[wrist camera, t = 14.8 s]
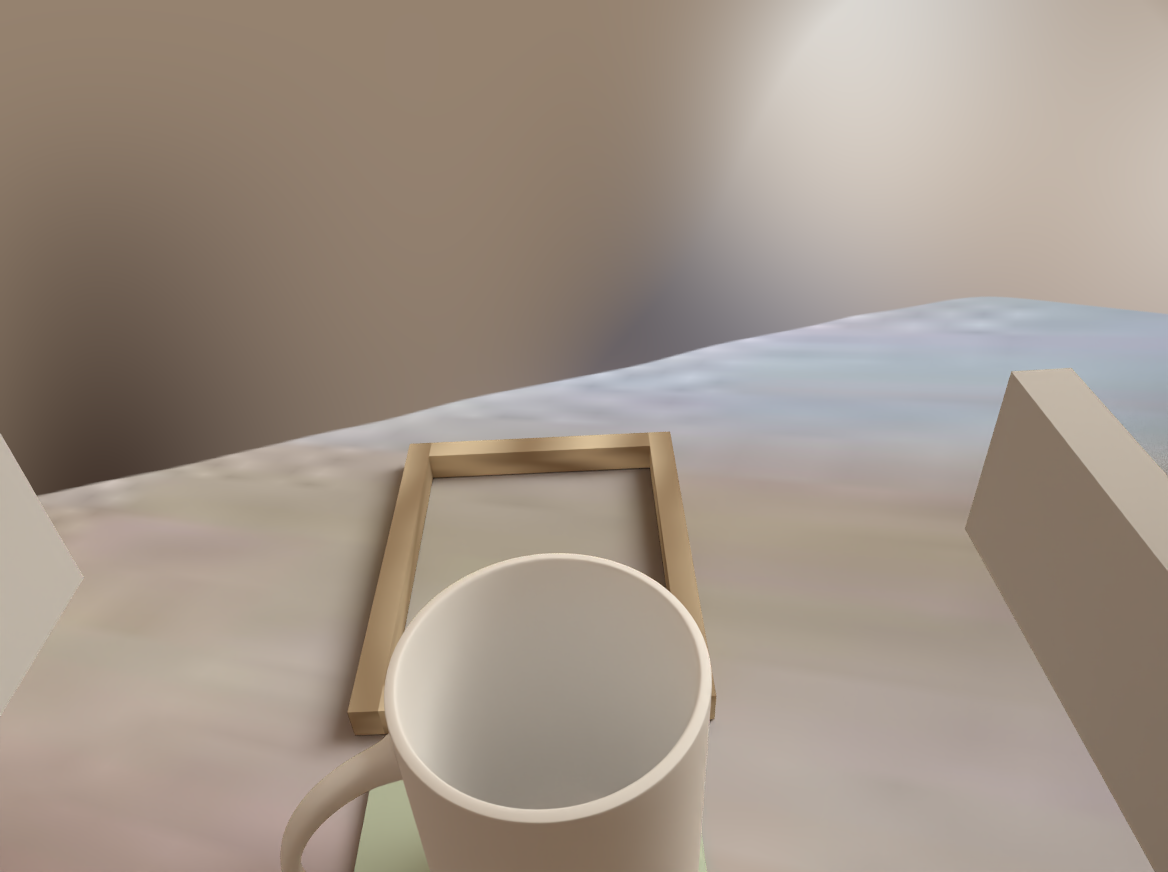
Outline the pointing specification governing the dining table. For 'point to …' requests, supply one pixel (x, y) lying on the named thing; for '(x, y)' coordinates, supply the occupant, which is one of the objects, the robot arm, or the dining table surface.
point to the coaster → (400, 834)
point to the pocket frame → (498, 460)
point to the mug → (541, 725)
